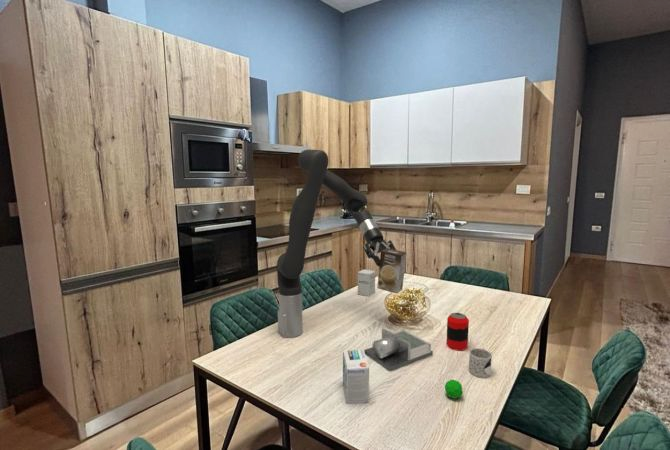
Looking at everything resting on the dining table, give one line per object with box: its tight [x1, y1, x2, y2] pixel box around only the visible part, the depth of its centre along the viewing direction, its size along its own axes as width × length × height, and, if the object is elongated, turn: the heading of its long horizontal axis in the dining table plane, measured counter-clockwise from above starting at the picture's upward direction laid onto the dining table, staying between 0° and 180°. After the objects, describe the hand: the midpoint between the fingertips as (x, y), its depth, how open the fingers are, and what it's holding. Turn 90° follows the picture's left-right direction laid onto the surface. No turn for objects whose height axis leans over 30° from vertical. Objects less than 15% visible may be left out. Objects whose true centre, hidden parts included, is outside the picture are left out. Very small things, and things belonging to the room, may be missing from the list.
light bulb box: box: [342, 349, 370, 404], centre depth 105 cm, size 11×7×11 cm, turn 5°
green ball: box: [444, 379, 464, 400], centre depth 103 cm, size 5×5×5 cm
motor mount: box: [363, 328, 434, 372], centre depth 127 cm, size 20×14×8 cm
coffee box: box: [376, 248, 407, 294], centre depth 144 cm, size 9×6×16 cm
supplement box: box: [357, 268, 376, 298], centre depth 192 cm, size 7×7×13 cm
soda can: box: [445, 312, 470, 351], centre depth 133 cm, size 8×8×12 cm
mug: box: [468, 347, 493, 379], centre depth 117 cm, size 10×7×7 cm, turn 148°
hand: (387, 264), depth 144 cm, fingers closed on coffee box, 7 cm apart
